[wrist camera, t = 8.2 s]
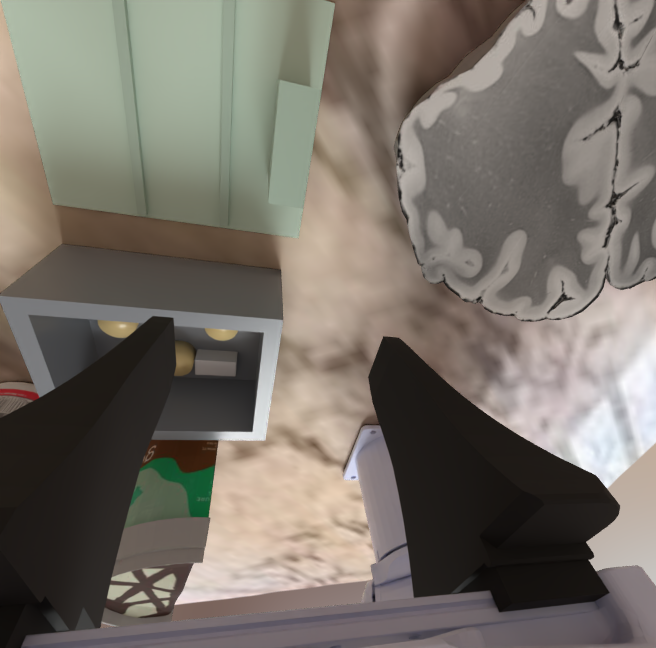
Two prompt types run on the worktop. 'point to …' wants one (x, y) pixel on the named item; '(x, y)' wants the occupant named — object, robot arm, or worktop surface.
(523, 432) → the worktop surface
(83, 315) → the tub
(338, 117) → the worktop surface
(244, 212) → the lid
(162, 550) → the food container
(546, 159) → the brain slice
